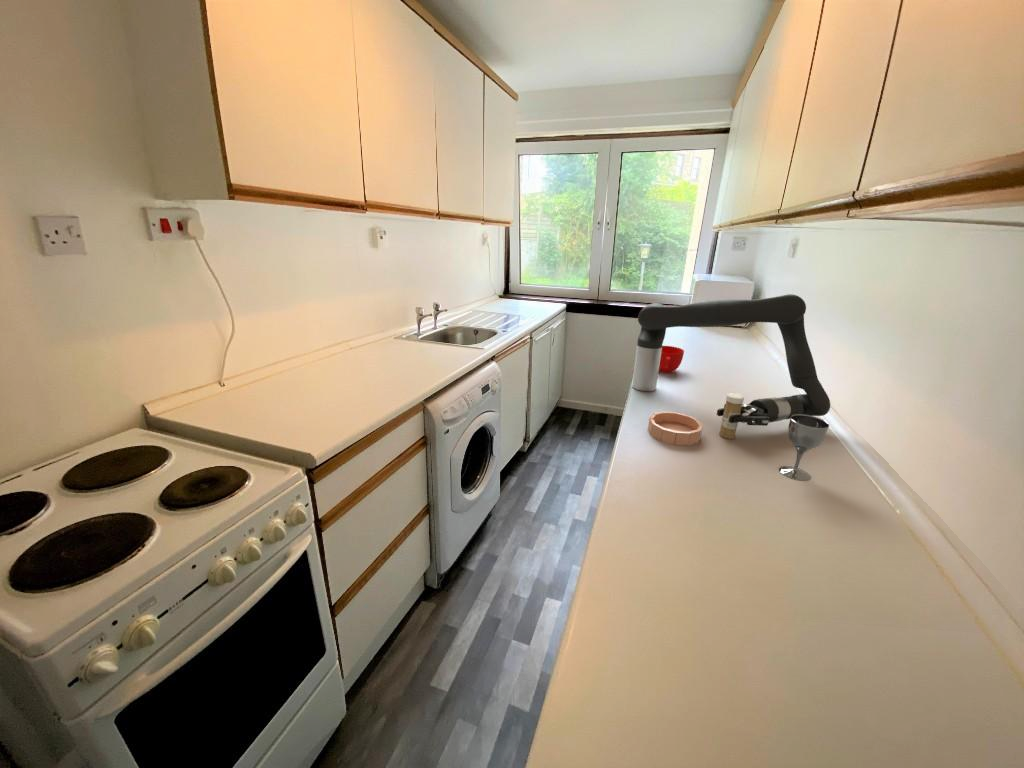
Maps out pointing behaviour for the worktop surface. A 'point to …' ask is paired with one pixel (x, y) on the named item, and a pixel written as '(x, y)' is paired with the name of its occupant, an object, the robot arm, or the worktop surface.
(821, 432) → the wine glass
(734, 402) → the sprinkles bottle
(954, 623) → the worktop surface
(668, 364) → the ceramic cup
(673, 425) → the terracotta bowl
